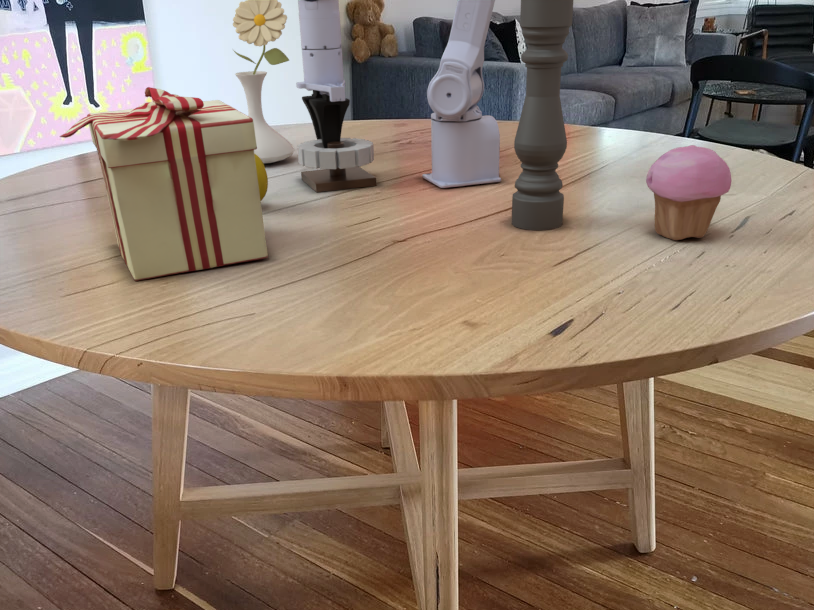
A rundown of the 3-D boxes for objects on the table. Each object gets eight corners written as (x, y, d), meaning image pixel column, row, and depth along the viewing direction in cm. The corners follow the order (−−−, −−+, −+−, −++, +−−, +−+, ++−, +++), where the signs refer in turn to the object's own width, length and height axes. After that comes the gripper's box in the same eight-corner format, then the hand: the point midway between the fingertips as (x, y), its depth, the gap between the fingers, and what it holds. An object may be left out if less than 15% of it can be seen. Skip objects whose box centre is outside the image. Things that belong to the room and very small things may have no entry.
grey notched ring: (359, 151, 127) (358, 135, 126) (383, 164, 118) (383, 147, 117) (291, 158, 124) (289, 141, 122) (310, 172, 115) (309, 154, 113)
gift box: (79, 251, 95) (44, 92, 87) (234, 226, 103) (215, 78, 94) (110, 294, 82) (71, 111, 73) (284, 261, 89) (267, 93, 81)
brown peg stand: (358, 173, 127) (356, 135, 125) (376, 185, 120) (374, 145, 117) (301, 179, 125) (298, 140, 122) (316, 192, 117) (313, 151, 114)
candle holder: (566, 217, 102) (580, -9, 90) (557, 231, 97) (571, -7, 85) (517, 214, 104) (525, -8, 92) (505, 228, 99) (512, -6, 87)
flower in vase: (212, 167, 134) (188, -4, 123) (249, 153, 144) (231, -7, 132) (282, 171, 130) (264, -6, 118) (316, 157, 139) (303, -9, 127)
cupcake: (697, 223, 98) (709, 136, 94) (737, 244, 91) (752, 150, 86) (627, 229, 97) (636, 141, 92) (663, 251, 89) (674, 156, 84)
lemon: (262, 216, 107) (255, 152, 103) (222, 214, 108) (213, 151, 104) (276, 205, 111) (270, 144, 108) (238, 204, 112) (230, 143, 109)
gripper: (283, 46, 122) (291, 141, 128) (306, 53, 110) (314, 157, 116) (329, 43, 124) (335, 137, 131) (357, 50, 112) (362, 153, 118)
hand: (328, 146), depth 124 cm, fingers closed on grey notched ring, 3 cm apart
